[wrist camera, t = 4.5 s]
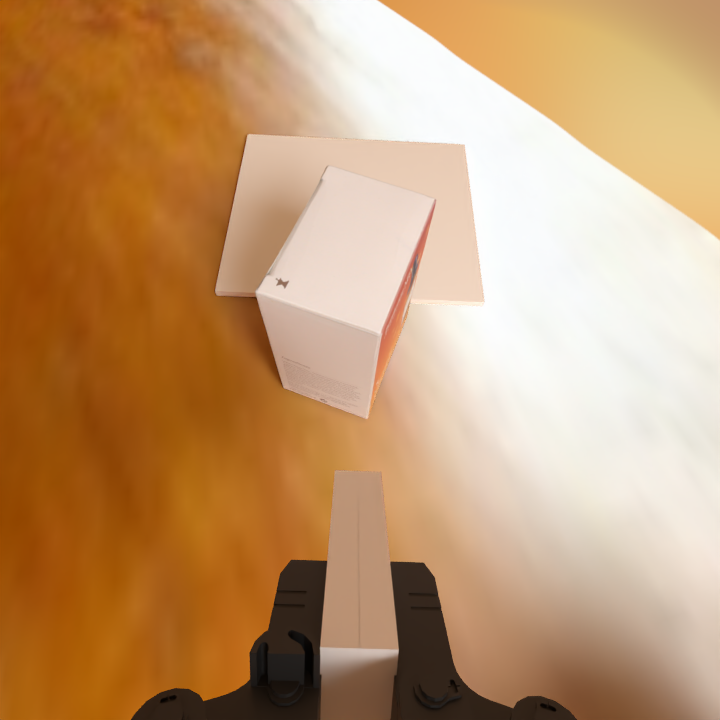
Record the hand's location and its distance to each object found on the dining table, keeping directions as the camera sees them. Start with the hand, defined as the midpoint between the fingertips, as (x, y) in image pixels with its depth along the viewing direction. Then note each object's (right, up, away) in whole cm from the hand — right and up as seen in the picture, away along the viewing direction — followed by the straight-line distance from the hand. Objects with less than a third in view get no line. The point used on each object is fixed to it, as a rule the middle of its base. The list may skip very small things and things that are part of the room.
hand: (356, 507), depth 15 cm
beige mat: (0, +16, +20) cm, 26 cm away
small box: (-1, +5, +14) cm, 15 cm away
